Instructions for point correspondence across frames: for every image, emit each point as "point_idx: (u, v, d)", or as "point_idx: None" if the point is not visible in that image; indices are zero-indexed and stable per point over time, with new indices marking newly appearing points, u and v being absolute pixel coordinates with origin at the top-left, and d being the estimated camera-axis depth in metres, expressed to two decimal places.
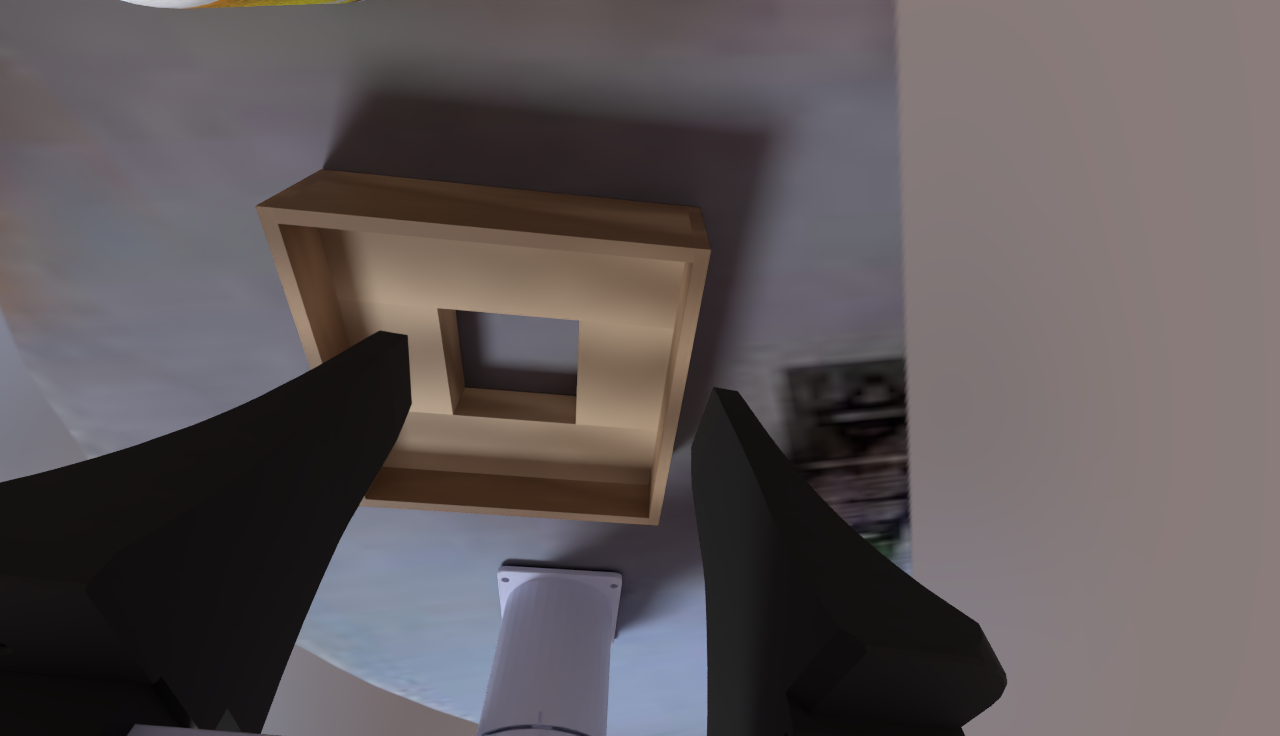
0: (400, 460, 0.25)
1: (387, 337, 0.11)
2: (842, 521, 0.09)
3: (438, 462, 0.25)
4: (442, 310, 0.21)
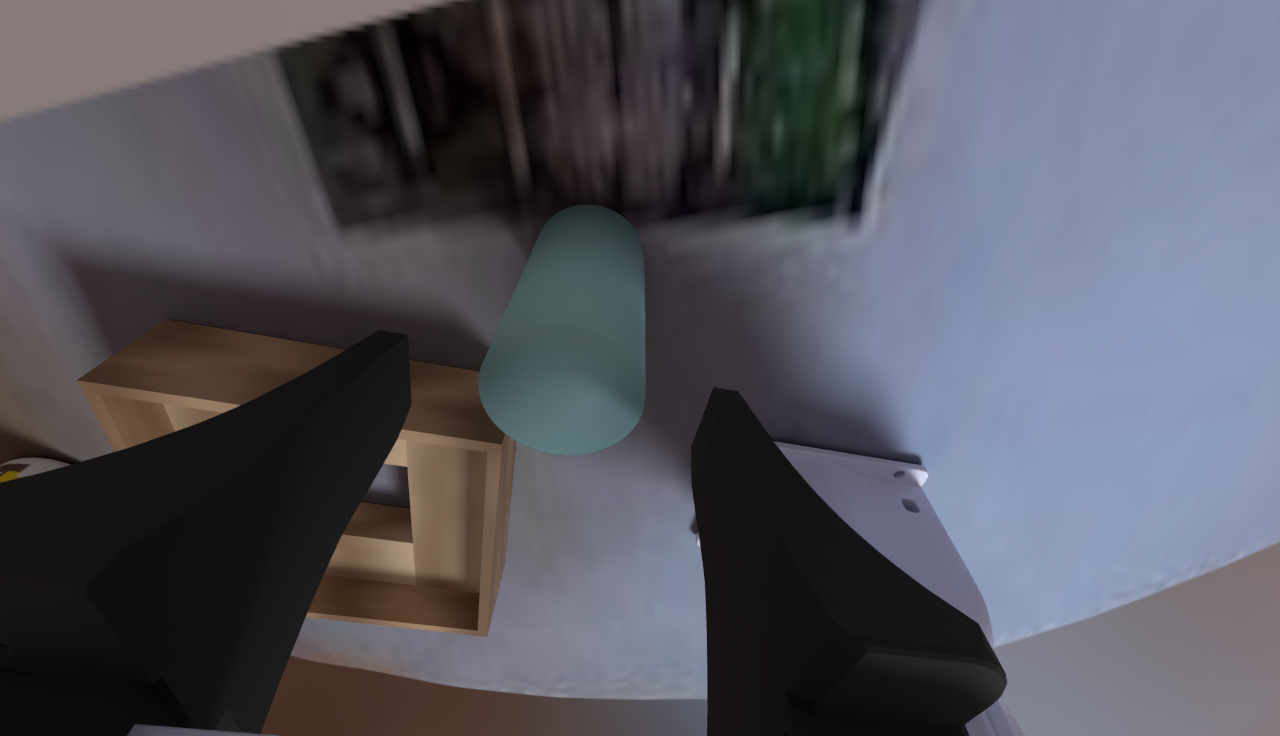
0: (477, 583, 0.28)
1: (387, 337, 0.11)
2: (842, 521, 0.09)
3: (477, 563, 0.27)
4: None
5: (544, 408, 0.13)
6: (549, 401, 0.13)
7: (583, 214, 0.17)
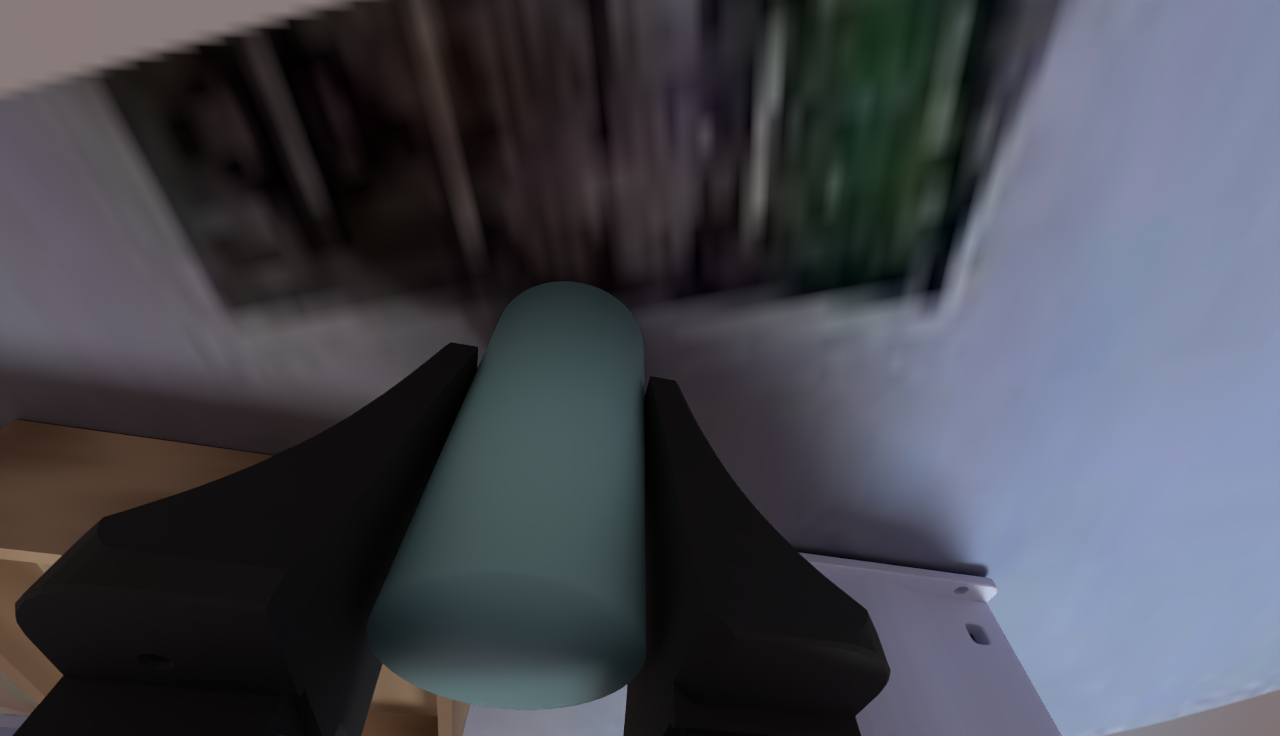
0: None
1: (460, 350, 0.11)
2: (753, 508, 0.08)
3: None
4: None
5: (481, 664, 0.08)
6: (488, 658, 0.08)
7: (557, 300, 0.12)
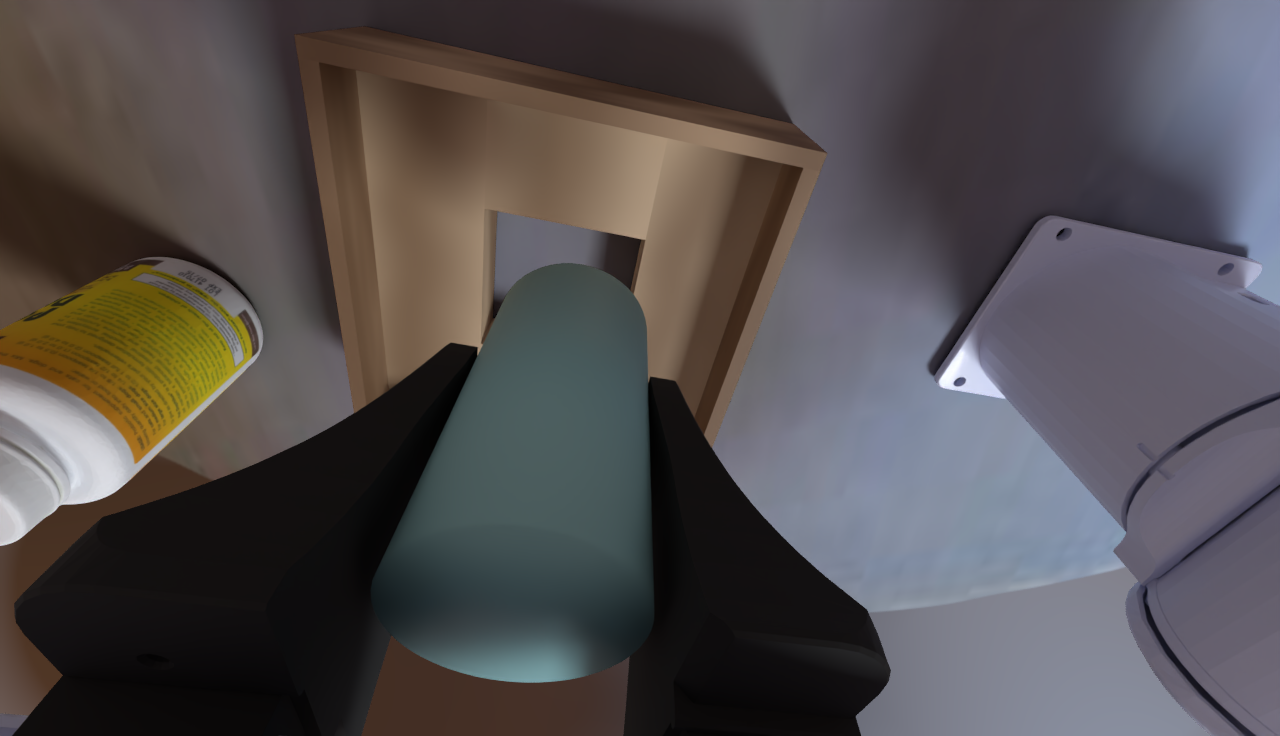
0: None
1: (460, 349, 0.11)
2: (753, 509, 0.08)
3: (687, 398, 0.22)
4: None
5: (483, 629, 0.08)
6: (492, 620, 0.08)
7: (571, 281, 0.12)
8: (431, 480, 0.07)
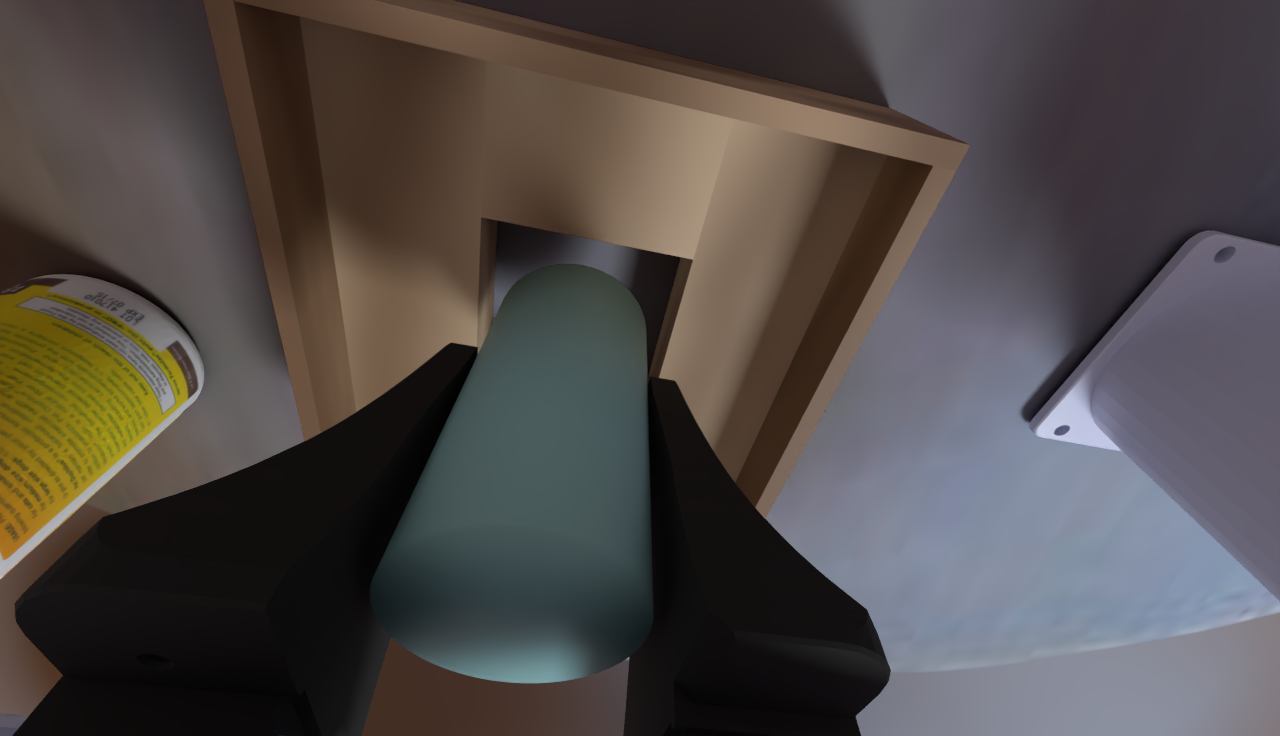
0: None
1: (460, 350, 0.11)
2: (753, 509, 0.08)
3: (732, 451, 0.18)
4: None
5: (482, 629, 0.08)
6: (491, 622, 0.08)
7: (570, 281, 0.12)
8: (430, 481, 0.07)
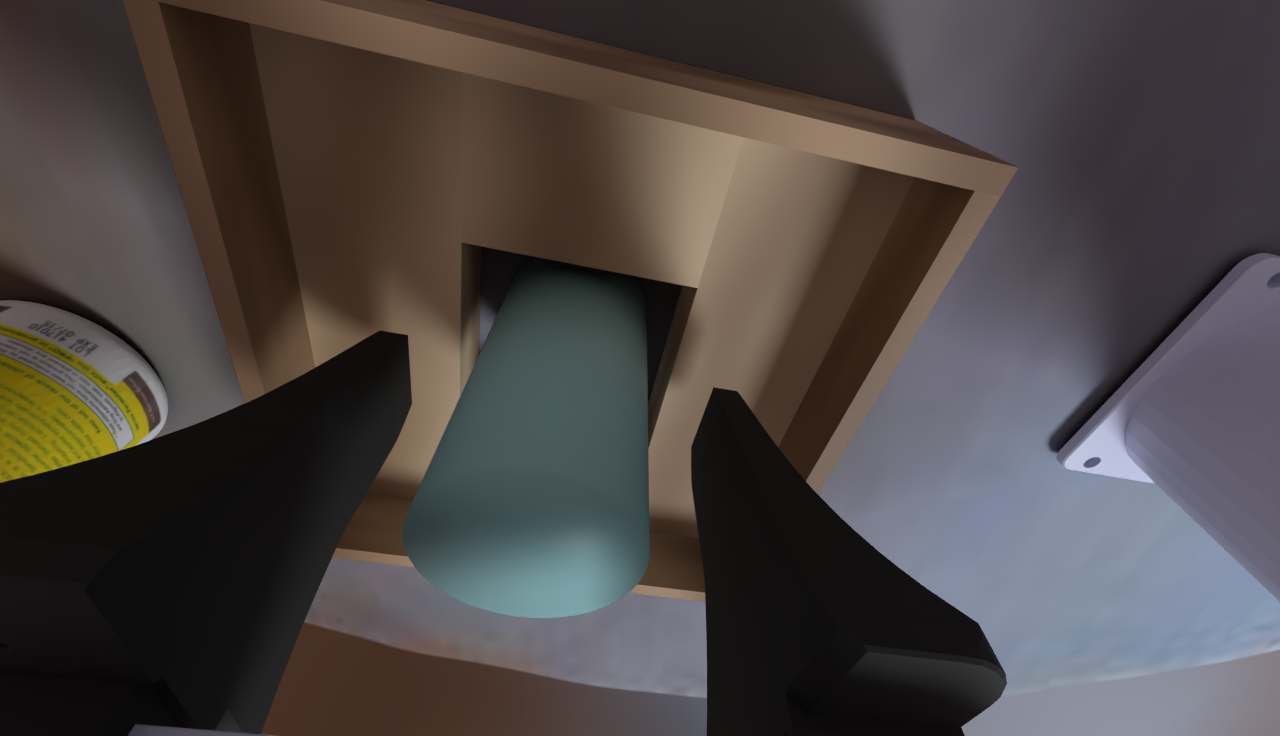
0: None
1: (387, 337, 0.11)
2: (842, 521, 0.09)
3: None
4: None
5: (499, 566, 0.09)
6: (507, 559, 0.09)
7: None
8: (453, 435, 0.09)
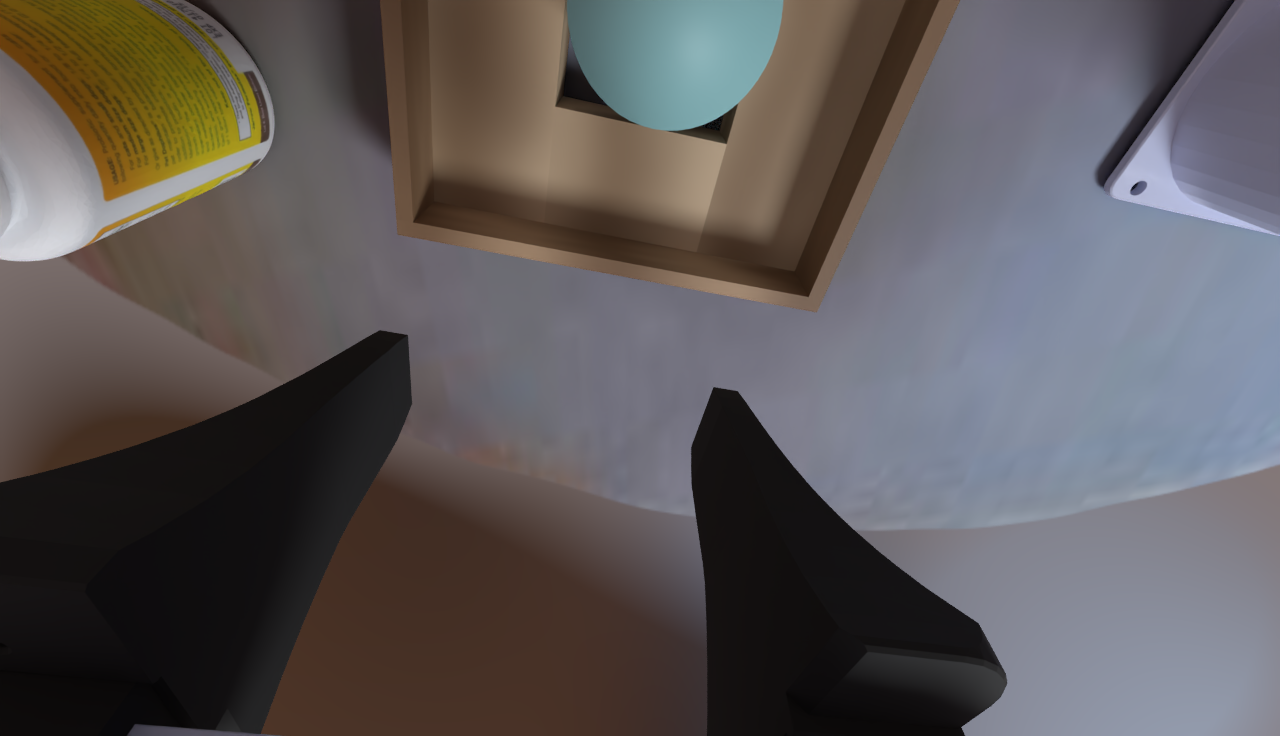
0: (789, 245, 0.19)
1: (387, 337, 0.11)
2: (842, 521, 0.09)
3: (807, 195, 0.18)
4: (569, 106, 0.16)
5: (646, 38, 0.10)
6: (654, 24, 0.10)
7: None
8: None
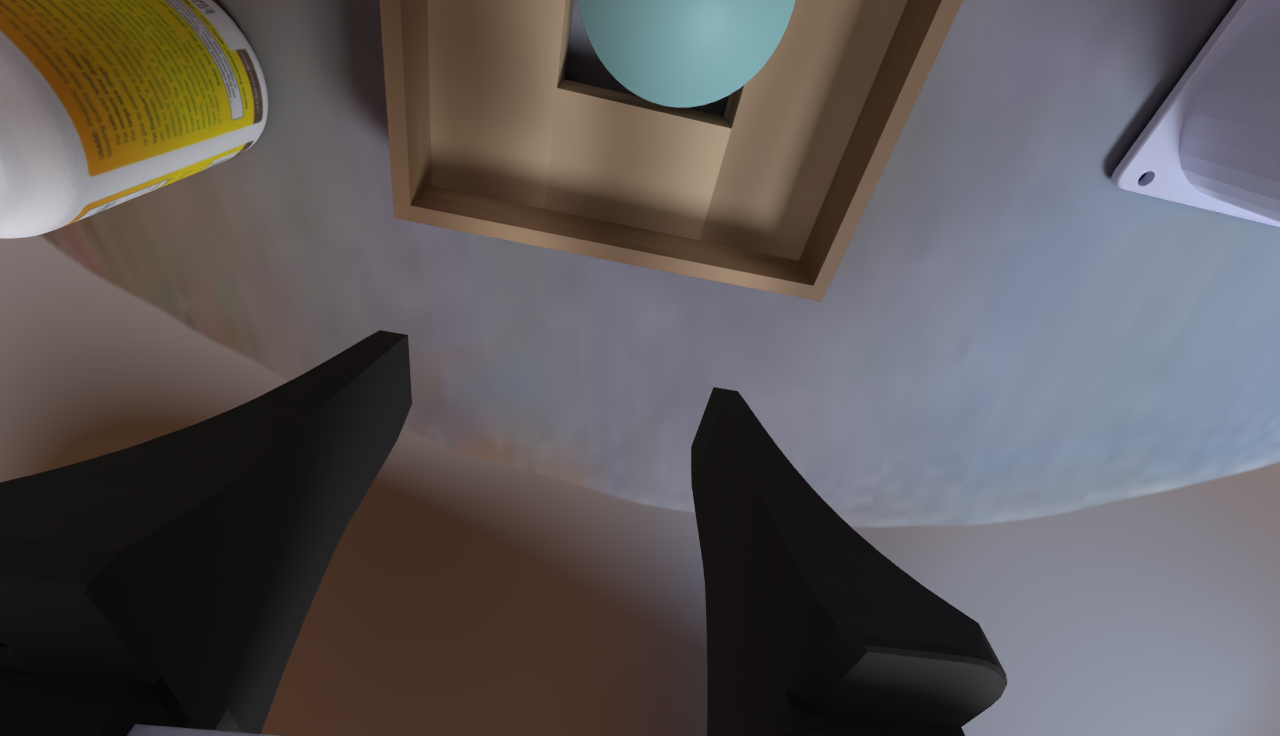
0: (794, 234, 0.18)
1: (387, 337, 0.11)
2: (842, 521, 0.09)
3: (813, 182, 0.17)
4: (571, 88, 0.16)
5: (658, 9, 0.10)
6: None
7: None
8: None
